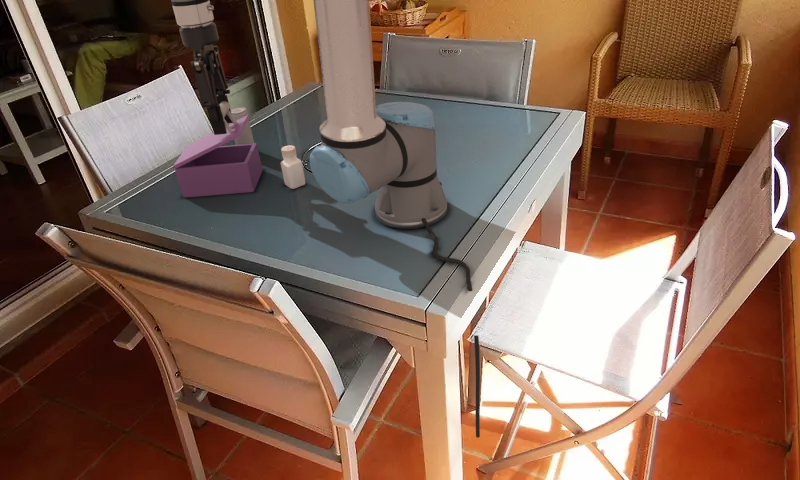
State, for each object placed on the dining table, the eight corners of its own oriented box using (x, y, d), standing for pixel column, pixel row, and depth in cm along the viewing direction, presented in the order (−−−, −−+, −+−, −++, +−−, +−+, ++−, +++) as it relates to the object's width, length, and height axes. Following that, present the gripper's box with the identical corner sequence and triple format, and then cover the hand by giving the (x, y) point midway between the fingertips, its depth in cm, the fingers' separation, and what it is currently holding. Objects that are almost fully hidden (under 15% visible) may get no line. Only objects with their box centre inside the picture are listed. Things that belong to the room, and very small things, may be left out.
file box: (262, 170, 145) (256, 142, 142) (254, 192, 136) (247, 163, 132) (197, 175, 146) (189, 148, 142) (183, 197, 136) (174, 169, 132)
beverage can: (259, 151, 156) (250, 108, 149) (244, 157, 153) (234, 114, 146) (249, 147, 159) (239, 105, 152) (234, 153, 156) (223, 111, 149)
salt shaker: (292, 190, 135) (284, 153, 129) (283, 185, 137) (276, 148, 132) (306, 184, 137) (300, 147, 131) (298, 179, 139) (291, 143, 134)
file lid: (249, 117, 138) (233, 92, 135) (239, 136, 128) (221, 110, 125) (189, 148, 142) (172, 125, 138) (175, 169, 132) (156, 144, 129)
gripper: (202, 33, 112) (230, 143, 125) (225, 13, 129) (248, 112, 141) (164, 36, 113) (196, 146, 125) (191, 16, 129) (218, 115, 141)
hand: (224, 128), depth 133 cm, fingers closed on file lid, 6 cm apart
